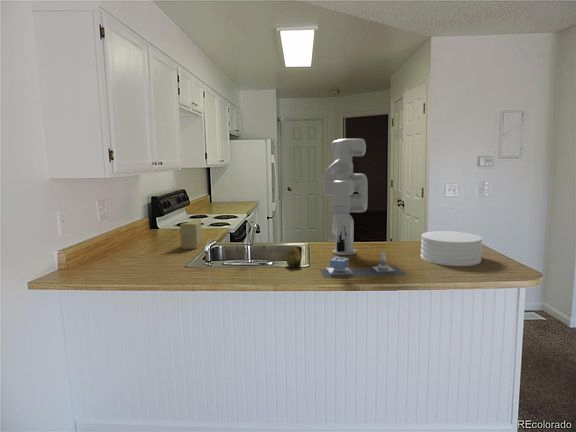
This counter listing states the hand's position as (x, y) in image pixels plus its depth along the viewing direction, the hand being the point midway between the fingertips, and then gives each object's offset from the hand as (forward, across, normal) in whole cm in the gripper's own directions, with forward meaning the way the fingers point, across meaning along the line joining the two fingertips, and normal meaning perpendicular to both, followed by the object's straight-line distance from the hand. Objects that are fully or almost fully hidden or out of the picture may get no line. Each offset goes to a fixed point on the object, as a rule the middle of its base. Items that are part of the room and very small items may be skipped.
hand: (340, 251), depth 174 cm
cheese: (+11, -73, -73) cm, 104 cm away
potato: (+11, -18, -19) cm, 28 cm away
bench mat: (+11, -2, +10) cm, 15 cm away
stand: (+10, -3, +20) cm, 23 cm away
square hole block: (+8, -3, 0) cm, 8 cm away
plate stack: (+11, -20, +60) cm, 64 cm away
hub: (+10, -3, 0) cm, 11 cm away
